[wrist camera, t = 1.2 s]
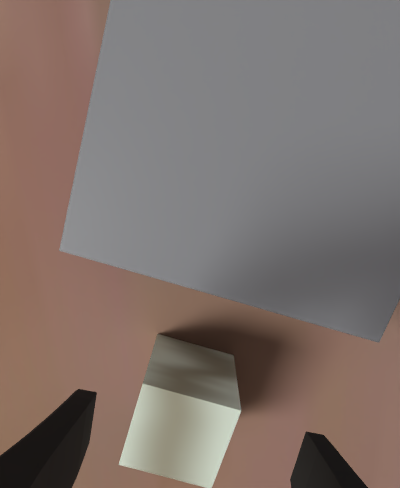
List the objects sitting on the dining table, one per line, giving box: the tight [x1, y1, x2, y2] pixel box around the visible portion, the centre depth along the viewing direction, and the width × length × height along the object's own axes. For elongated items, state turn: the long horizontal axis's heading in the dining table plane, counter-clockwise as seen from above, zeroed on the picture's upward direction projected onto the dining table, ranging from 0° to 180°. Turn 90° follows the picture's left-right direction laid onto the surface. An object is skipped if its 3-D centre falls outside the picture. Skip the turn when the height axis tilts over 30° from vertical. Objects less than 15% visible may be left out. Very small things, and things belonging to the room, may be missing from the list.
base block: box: [59, 0, 400, 342], centre depth 16 cm, size 16×16×4 cm
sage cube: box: [119, 334, 241, 488], centre depth 19 cm, size 5×5×5 cm
